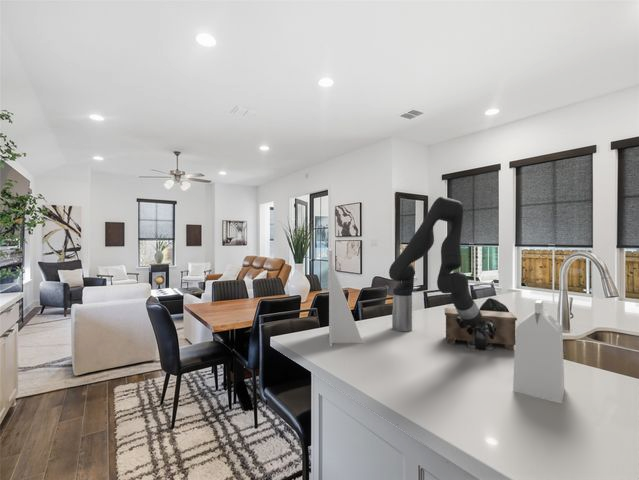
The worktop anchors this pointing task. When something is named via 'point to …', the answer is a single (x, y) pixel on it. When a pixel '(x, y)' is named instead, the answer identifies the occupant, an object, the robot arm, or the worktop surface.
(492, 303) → the squash
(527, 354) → the milk
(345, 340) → the white bracket plate
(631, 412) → the worktop surface
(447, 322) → the cabinet
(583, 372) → the worktop surface
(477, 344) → the joystick
